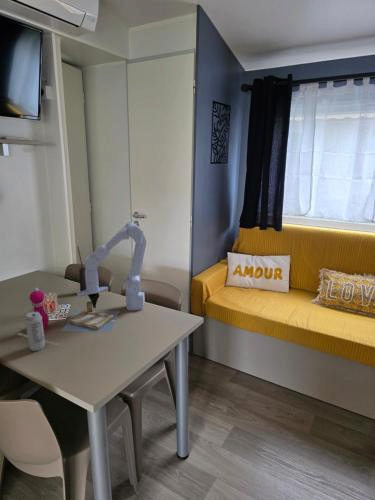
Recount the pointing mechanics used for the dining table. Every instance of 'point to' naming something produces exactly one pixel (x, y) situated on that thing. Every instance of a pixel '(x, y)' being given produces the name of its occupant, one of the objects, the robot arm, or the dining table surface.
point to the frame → (91, 318)
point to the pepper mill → (39, 306)
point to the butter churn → (82, 276)
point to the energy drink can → (35, 331)
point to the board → (79, 328)
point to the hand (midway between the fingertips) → (94, 307)
